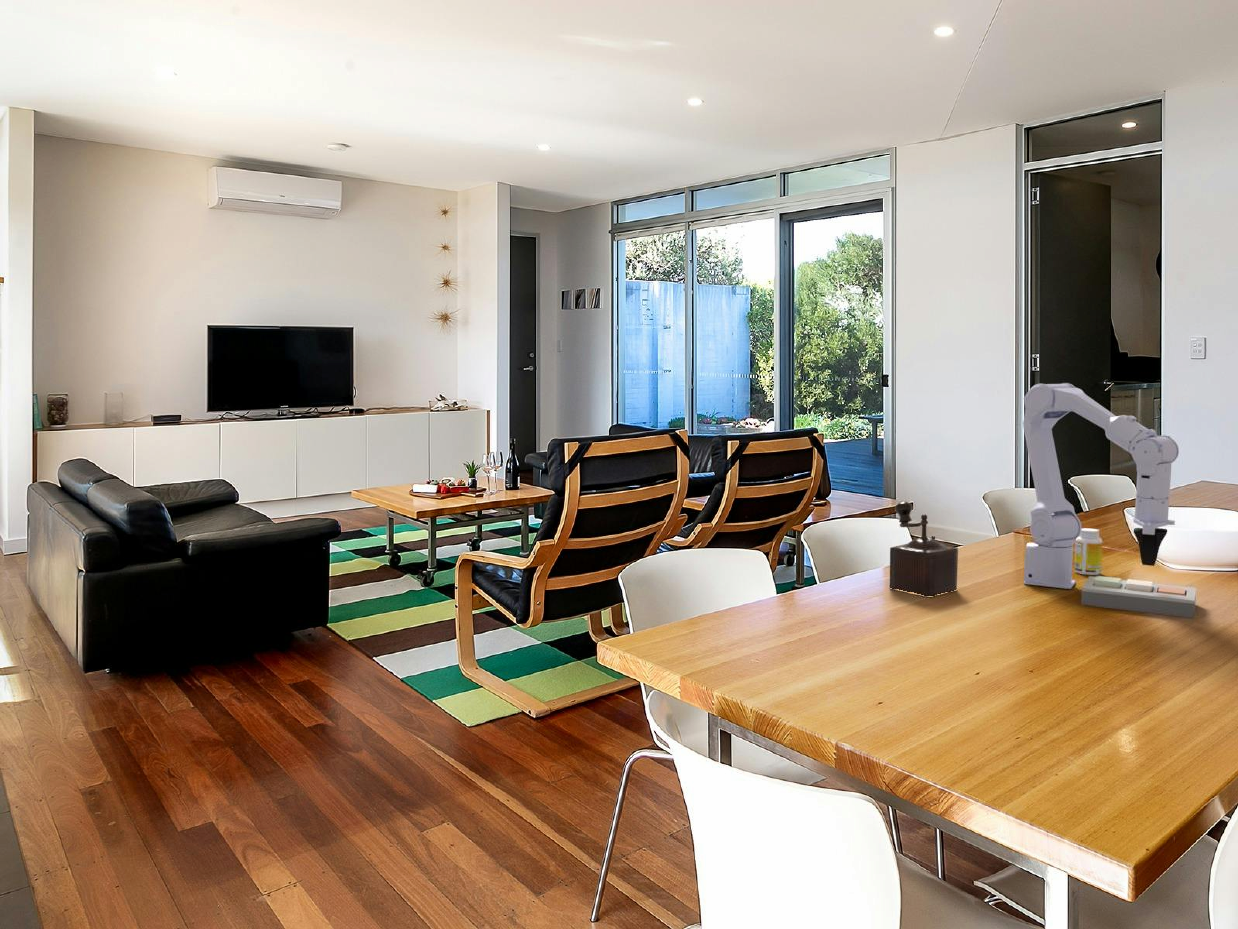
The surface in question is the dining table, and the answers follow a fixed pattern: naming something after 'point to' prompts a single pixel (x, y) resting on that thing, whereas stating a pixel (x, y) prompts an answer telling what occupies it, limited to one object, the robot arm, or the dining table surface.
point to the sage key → (1107, 582)
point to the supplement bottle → (1088, 552)
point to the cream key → (1139, 585)
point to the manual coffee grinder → (922, 561)
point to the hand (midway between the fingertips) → (1148, 564)
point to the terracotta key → (1171, 591)
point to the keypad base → (1140, 599)
